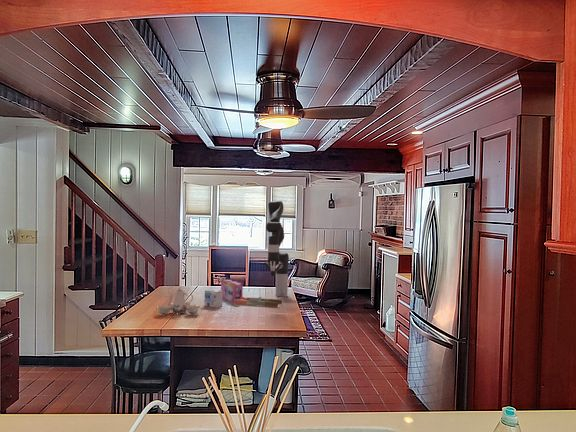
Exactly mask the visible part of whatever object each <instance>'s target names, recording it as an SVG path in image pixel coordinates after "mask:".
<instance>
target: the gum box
mask: <svg viewBox="0 0 576 432" xmlns="http://www.w3.org/2000/svg"><path fill="white" fill-rule="evenodd" d="M243 285H244V284H243V282H241V281H239V280H236V279H234V278H233V279H232V278H221V279H220V290H222V291H223V293H222V299H225V300H228V301H230V302H232V303H235V299H236V300H240V297H244V296H243V294H244V293H243V289H244V286H243Z"/></svg>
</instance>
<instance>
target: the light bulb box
mask: <svg viewBox="0 0 576 432" xmlns="http://www.w3.org/2000/svg"><path fill="white" fill-rule="evenodd" d="M222 293H223V291H222V290H221V289H213V288H209V289H208V288H207V289H205V290H204V306H205V307H212V308H219V307H222V306H223V298H222Z"/></svg>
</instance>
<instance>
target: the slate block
mask: <svg viewBox="0 0 576 432" xmlns="http://www.w3.org/2000/svg"><path fill="white" fill-rule="evenodd" d="M249 298H250V301H261V298H262V296H261V295H260V296H259V295H251V296H250V297H249Z"/></svg>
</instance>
